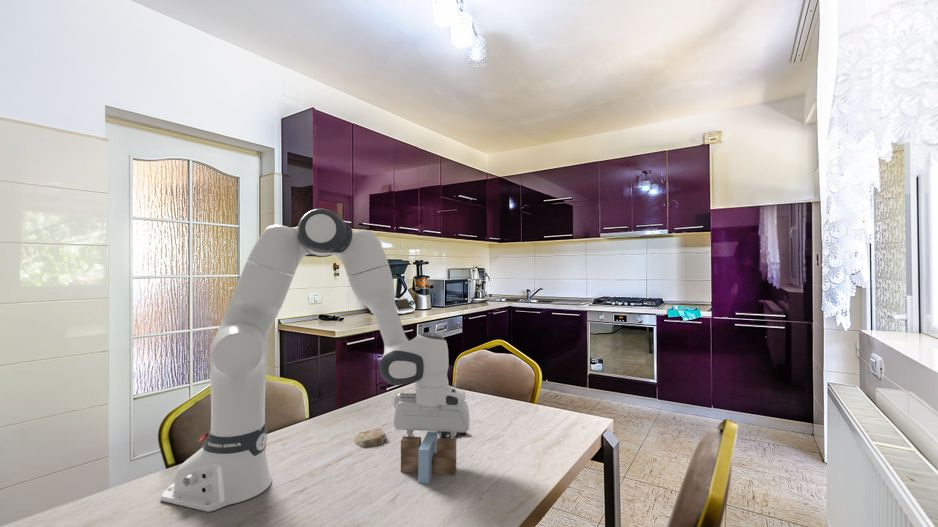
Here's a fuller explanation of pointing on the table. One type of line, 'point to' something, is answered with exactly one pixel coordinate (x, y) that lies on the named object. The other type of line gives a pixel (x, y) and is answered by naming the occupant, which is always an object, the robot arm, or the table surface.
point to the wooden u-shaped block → (440, 461)
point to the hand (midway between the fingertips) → (431, 446)
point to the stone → (370, 437)
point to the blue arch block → (426, 456)
